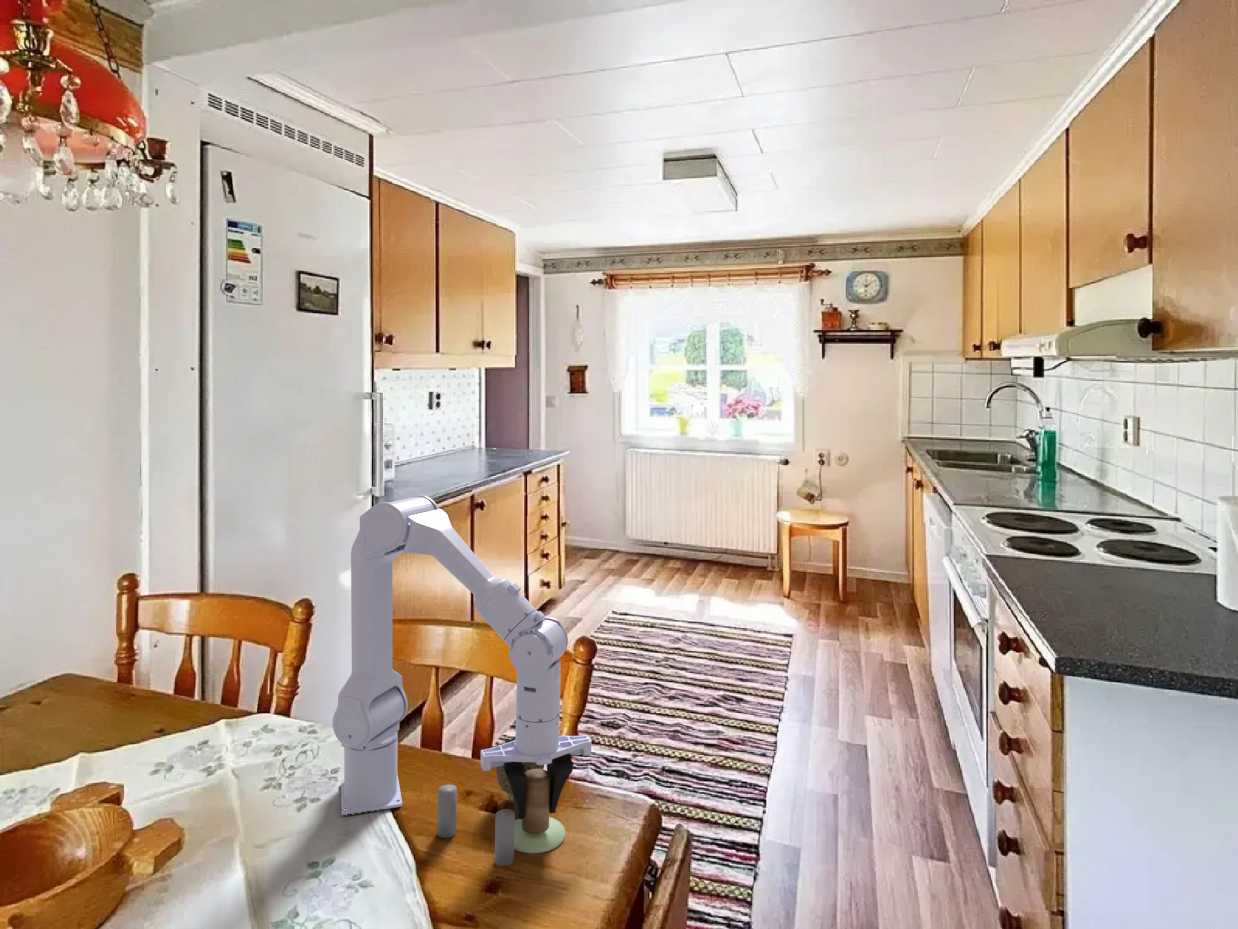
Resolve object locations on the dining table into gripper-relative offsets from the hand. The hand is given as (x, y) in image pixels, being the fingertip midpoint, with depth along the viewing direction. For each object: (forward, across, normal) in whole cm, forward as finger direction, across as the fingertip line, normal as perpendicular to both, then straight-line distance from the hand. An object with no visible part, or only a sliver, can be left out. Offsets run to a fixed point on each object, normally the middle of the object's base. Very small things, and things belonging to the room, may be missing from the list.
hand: (535, 812), depth 99 cm
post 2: (+3, -5, -4) cm, 7 cm away
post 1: (+3, -11, +4) cm, 12 cm away
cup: (+3, 0, +9) cm, 10 cm away
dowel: (+2, 0, 0) cm, 2 cm away
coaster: (+3, 0, 0) cm, 3 cm away
